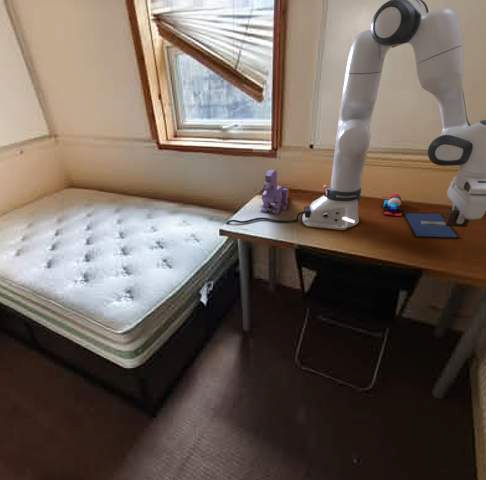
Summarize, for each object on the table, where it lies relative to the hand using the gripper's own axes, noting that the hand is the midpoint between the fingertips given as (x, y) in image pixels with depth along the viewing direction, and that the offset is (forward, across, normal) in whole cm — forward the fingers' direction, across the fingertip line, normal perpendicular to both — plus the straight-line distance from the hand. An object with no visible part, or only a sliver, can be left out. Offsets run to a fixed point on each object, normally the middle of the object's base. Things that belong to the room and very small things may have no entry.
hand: (456, 220), depth 108 cm
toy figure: (+10, -31, -12) cm, 35 cm away
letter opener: (+2, 0, -4) cm, 4 cm away
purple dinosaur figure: (+11, -33, -61) cm, 70 cm away
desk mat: (+10, -16, -2) cm, 19 cm away
